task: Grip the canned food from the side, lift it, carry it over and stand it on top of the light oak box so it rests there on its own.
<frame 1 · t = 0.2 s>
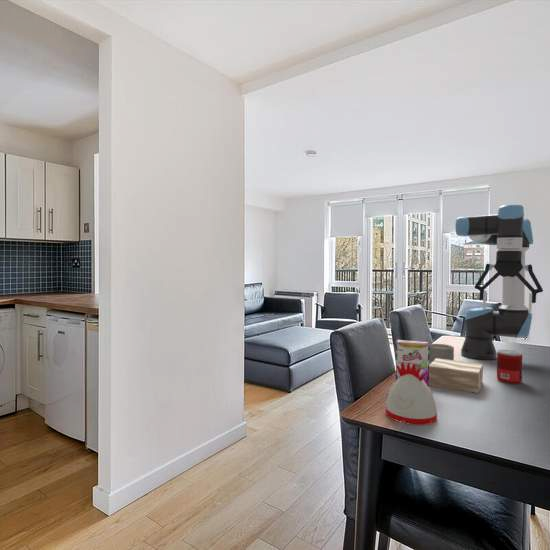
hand: (506, 310, 131), 27 cm above the table, tool pointing down, fingers open, 13 cm apart
candy bar box: (412, 388, 132), on the table
coffee mug: (435, 370, 155), on the table
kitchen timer: (410, 415, 108), on the table
canned food: (509, 381, 140), on the table
oak box: (455, 383, 136), on the table
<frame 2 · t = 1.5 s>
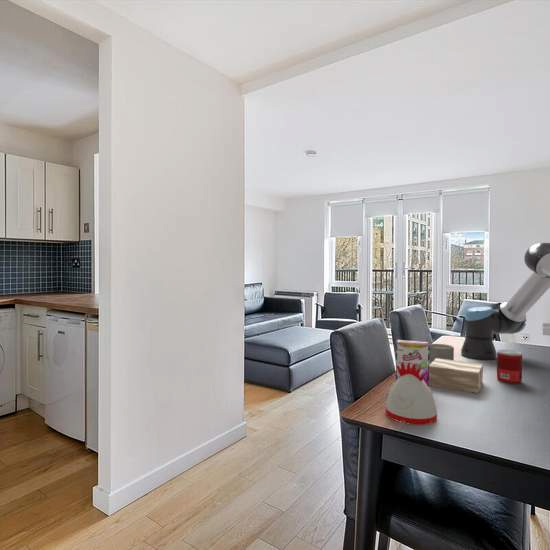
hand: (542, 328, 133), 21 cm above the table, tool horizontal, fingers open, 13 cm apart
nothing on the table moved.
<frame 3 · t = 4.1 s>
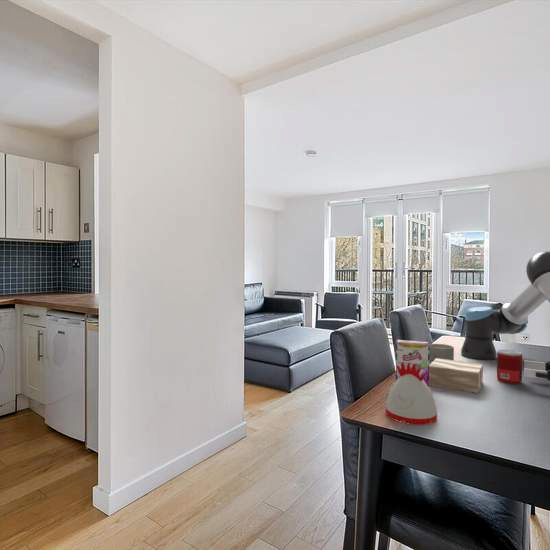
hand: (524, 367, 136), 6 cm above the table, tool horizontal, fingers open, 13 cm apart
nothing on the table moved.
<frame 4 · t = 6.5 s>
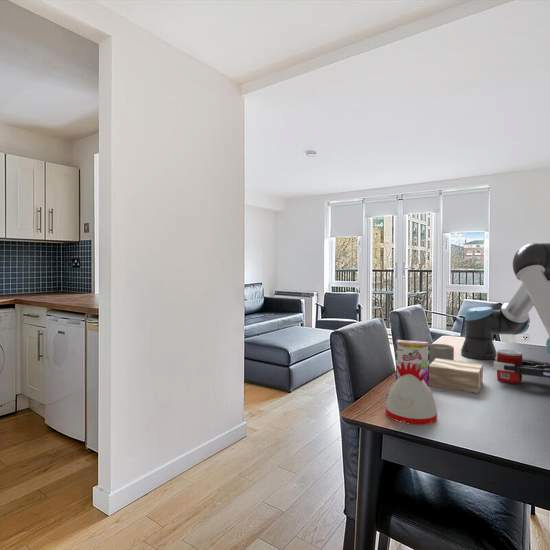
hand: (494, 363, 142), 6 cm above the table, tool horizontal, fingers closed on canned food, 8 cm apart
canned food: (509, 381, 140), on the table, touching gripper
everything else where it was.
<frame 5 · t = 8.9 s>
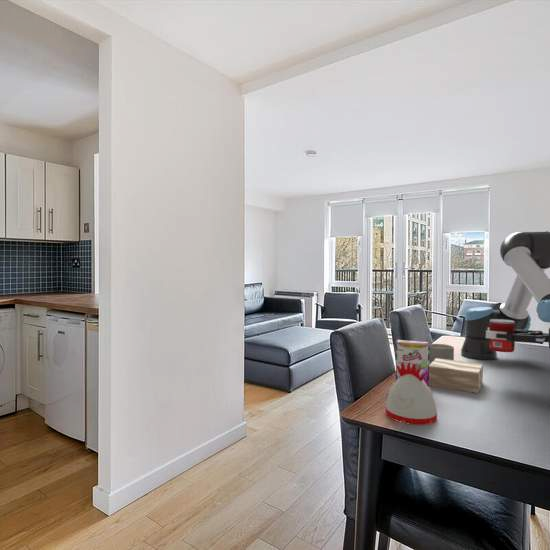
hand: (486, 332, 140), 18 cm above the table, tool horizontal, fingers closed on canned food, 8 cm apart
canned food: (501, 350, 138), point 12 cm above the table, touching gripper
everything else where it was.
when the fingers open (14 cm above the table, at t = 11.5 s): canned food drops 1 cm, resting on oak box.
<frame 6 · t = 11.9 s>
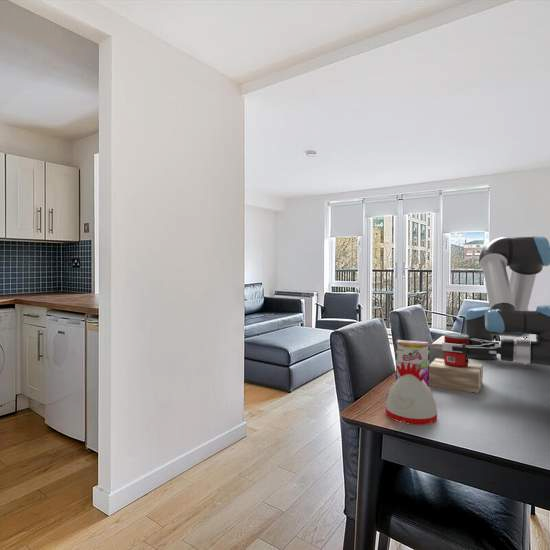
hand: (445, 343, 138), 14 cm above the table, tool horizontal, fingers open, 13 cm apart
canned food: (456, 365, 136), point 7 cm above the table, touching oak box
everything else where it was.
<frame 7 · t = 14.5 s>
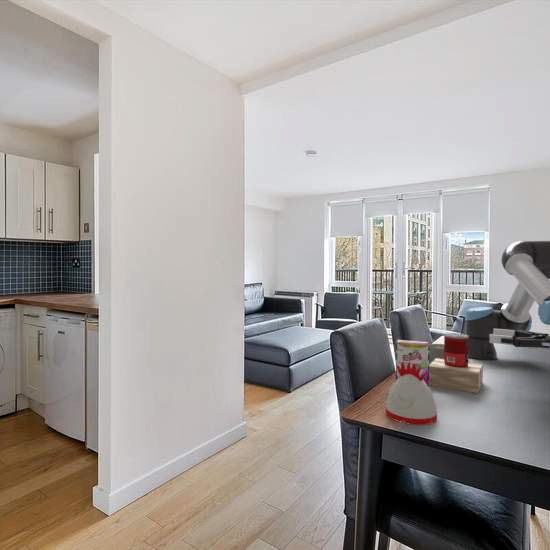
hand: (491, 335, 132), 19 cm above the table, tool horizontal, fingers open, 13 cm apart
nothing on the table moved.
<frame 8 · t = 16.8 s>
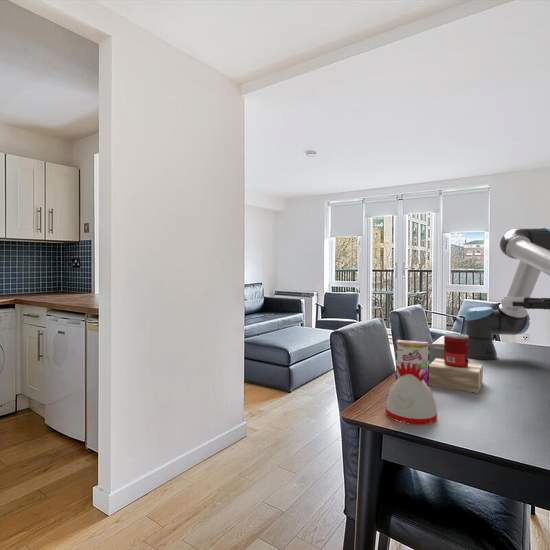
hand: (502, 301, 137), 30 cm above the table, tool horizontal, fingers open, 13 cm apart
nothing on the table moved.
at the end: canned food inside the target area on the oak box (0.1 cm from its centre), point 6.8 cm above the oak box's base; canned food tilted 0°; the gripper is holding nothing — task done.
